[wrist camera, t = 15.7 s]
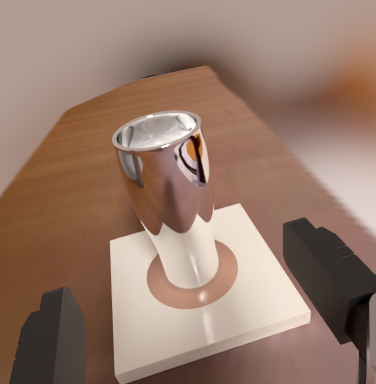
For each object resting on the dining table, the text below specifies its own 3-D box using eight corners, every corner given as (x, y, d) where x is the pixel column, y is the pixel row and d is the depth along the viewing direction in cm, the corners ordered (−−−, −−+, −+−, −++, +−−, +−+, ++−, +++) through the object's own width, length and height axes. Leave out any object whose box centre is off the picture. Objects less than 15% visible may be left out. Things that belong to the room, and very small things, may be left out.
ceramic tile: (120, 385, 25) (114, 374, 24) (113, 249, 38) (109, 239, 38) (310, 322, 27) (310, 310, 26) (240, 212, 40) (239, 202, 39)
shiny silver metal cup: (192, 313, 27) (148, 161, 19) (143, 275, 32) (91, 139, 24) (242, 263, 31) (224, 116, 23) (192, 235, 36) (161, 104, 27)
